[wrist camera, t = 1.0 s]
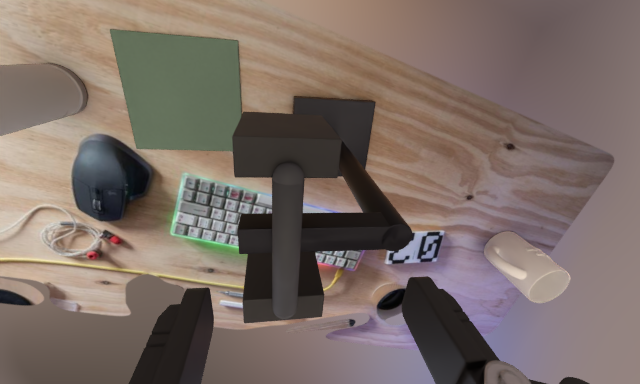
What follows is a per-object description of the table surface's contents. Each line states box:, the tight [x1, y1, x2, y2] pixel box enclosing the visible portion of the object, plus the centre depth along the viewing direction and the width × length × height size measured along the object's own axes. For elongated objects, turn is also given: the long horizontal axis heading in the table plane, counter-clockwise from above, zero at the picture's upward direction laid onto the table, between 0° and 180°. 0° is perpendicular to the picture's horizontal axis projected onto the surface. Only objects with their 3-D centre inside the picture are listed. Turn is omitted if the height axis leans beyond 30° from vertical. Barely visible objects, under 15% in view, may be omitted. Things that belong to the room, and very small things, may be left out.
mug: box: [484, 231, 570, 303], centre depth 54 cm, size 8×12×12 cm
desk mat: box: [110, 29, 242, 151], centre depth 38 cm, size 15×15×1 cm
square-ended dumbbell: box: [232, 112, 342, 323], centre depth 21 cm, size 14×6×8 cm, turn 176°
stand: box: [238, 96, 412, 254], centre depth 31 cm, size 12×17×27 cm
